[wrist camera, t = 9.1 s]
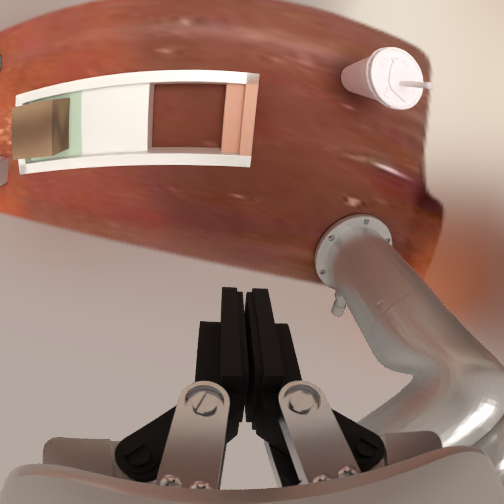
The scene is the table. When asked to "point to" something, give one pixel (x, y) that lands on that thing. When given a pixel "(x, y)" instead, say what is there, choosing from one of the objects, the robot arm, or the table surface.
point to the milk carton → (4, 169)
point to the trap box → (142, 121)
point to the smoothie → (386, 78)
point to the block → (40, 129)
